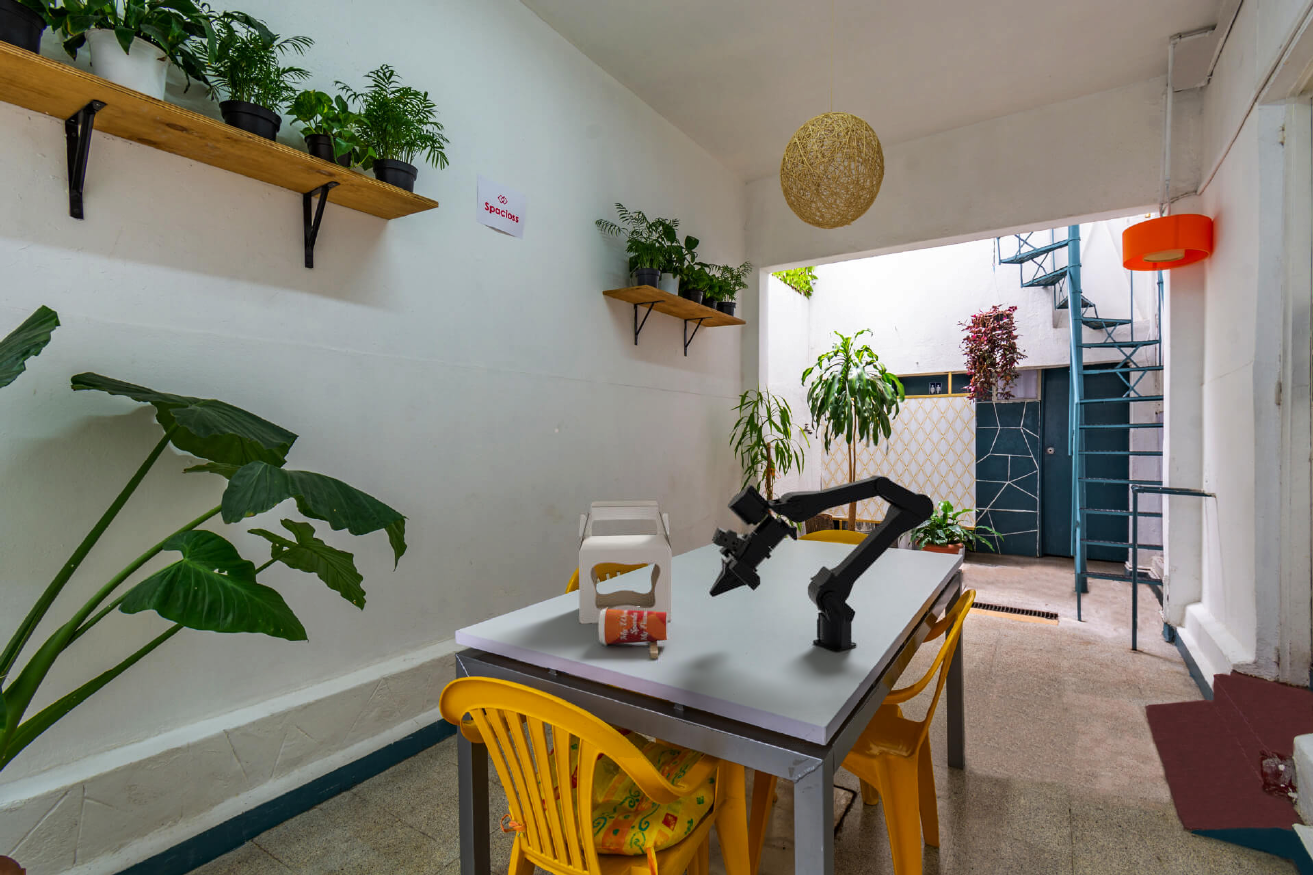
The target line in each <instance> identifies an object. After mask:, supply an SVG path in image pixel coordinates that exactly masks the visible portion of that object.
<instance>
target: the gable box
mask: <svg viewBox="0 0 1313 875" xmlns="http://www.w3.org/2000/svg"><path fill="white" fill-rule="evenodd" d="M668 515H669V514H668V512H663V513H662V514H661V511H659V505H658V502H657V501H656V500H655V499H650V500H648V499H647V500H645V499H644V500H595V501H594V500H593V501H592V502H591V503H590V508H589V512H588V513H587V516H586V514H584V513H583V514H580V520H579V530H578V537H581V538H580V544H579V548H578V587H579V588H578V590H579V591H578V592H579V594H578V599H579V601H578V603H579V606H578V609H579V610H578V611H579V612H578V616H579V619H578V620H579V624H580V623H581V624H580V625H582V624H583V625H587V624H589V623H592V624H599V615H600V612H601V610H603V609H606V608H607V607H608V608H609V609H616V610H636V611H655V612H667V616H668V622H671V621H672V620H673V619H672V618H673V615H672V614H673V612H672V609H673V608H672V603H673V601H672V596H673V594H672V593H673V592H672V588H673V587H672V580H673V579H672V546H671V543H670V540H669V537H668V535H670V526H669V516H668ZM611 520H612V521H613V520H615V521H616V520H619V521H620V520H649V521H651V520H653V521H655V523H656V534H654V533H653V534H652V533H651V534H649V533H647V534H610V535H609V534H608V535H607V534H606V535H605V534H603V535H601V534H600V535H593V527H592V526H593V523H594V522H595V521H596V522H597V521H611ZM606 563H607V564H608V563H612V564H620V565H629V566H631V565H640V564H641V565H642V564H649V563H650V564H654V566H653V569H652V571H651V574H650V582H651V583H650V585H651V586H650V587H651V589H650V591H649V592H646V593H641V592H638V591H634V590H618V591H613V592H609V593H599V592H598V591H597V584H598V576H597V572H596V570H595V566H596V565H600V564H606ZM637 606H640V607H637Z"/></svg>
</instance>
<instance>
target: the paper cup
mask: <svg viewBox="0 0 1313 875" xmlns="http://www.w3.org/2000/svg"><path fill="white" fill-rule="evenodd" d="M668 623H669V621H668V616H667V612H655V611H636V610H616V609H609V608H608V607H607V608H606V609H603V610H601V612H600V615H599V623H598V629H597V630H598V641H599V642H600V643H601V644H603V645H605V646H608V645H615V644H629V643H630V644H632V643H646V642H649V643H650V641H657V642H659V641H661V642H662V641H668V638H669V624H668Z"/></svg>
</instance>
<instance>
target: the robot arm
mask: <svg viewBox="0 0 1313 875" xmlns="http://www.w3.org/2000/svg"><path fill="white" fill-rule="evenodd" d="M874 497H875V498H876V497H879V498H881V499H882V500H883V501H885V502H886V503H888V504H889V505H888V508H887V510H886V513H885V515H884V519H882V521H881V522H879V524H878V525H877V526H876V527H875V528H874V529H873V530H872V531H871V532H870V533H869V534H868V535H866V537H865V538H863V540H862V541H861V542H860V543H859V544H858V545H857V546H855V548H854V549H853V550H852V551H851V552H850V553H849V554H848V555H847V556H846V557H845V558H844V559H843V560H841V562H840V563H839V564H838V565H837V566H835V567H833V568H830V569H829V568H827V567H826V566H825V565H823V566H822V567H821V568H820V569H819V571H818V572H817V574H815V575H814V576H812V577H810V582H809V584H808V586H807V595H808V598H809V599H810V601H811V602H812V603H813V604H814V605H815V606H816V608H817V610H818V611H819V612H818V613H817V619H816V638H817V639H814V640H812V643H813V644H815V645H817V646H820V647H823V648H825V649H828V650H829V651H833V652H835V653H837V652H838V653H839V652H841V651H845V650H848V649H851V648H855V647H857V646H858V644H857V642H854V641H852V635H853V634H852V622H853V621H854V619H855V618H854V617H855V615H856V611H855V610H854V609H853V608H852V607H851V606H850V605H849V604H848V603H847V602H846V601H847V600H848V598H849V597H850V595H851V593H852V590H853V588H854V584H855V583H856V582H857V580H858V579H860V577H861V576H862V575H863V574H864V573H866V571H867V570H868V569H870V568H871V566H872V565H873V564H874V563H875V562H877V560H878V559H879V558H880V557H881V556H882V555H883V554H884V553H885V552H886V551H888V549H890V547H891V546H892V545H893V544H894V543H895V542H896V541H898V539H899V538H900V537H901V536H902V535H903V534H906V533H907V532H909V531H912V530H914V529H917V528H918V527H920V526H921V525H922V524H925V522H928V520H930V519H931V518H932V516H933V515H934V513H935V509H934V506H935V505H934V501H933V500H932V499H931V497H929V496H928V495H926V494H924V493H920V492H915V491H911V490H910V489H909V488H908V489H907V488H906V487H903V486H902V485H901V484H898V483H895V482H894V481H893V480H892V479H890V478H888V477H887V476H884V475H878V474H877V475H876V474H875V475H874V474H873V475H872V476H870V477H867V478H864V479H859V480H855V481H852V482H849V483H848V482H847V483H845V484H844V483H843V484H840V485H835V486H833V487H827V488H825V489H822V490H803V491H789V492H786V493H784V494H782V495H781V496H780V498H773V499H768V500H767V499H766V498H765V497H763V495H761V493H759V491H758V490H757V488H755V487H754V486H753V485H752V484H748V485H747V486H746V487H745V488H743V489H742V490H741V491H740V492H739V493H736V494H735V495H734V496H733V497H732V499H731V500H729V502H728V504H727V508H728V509H729V510H730V511H731V512H732V513H733V514H734V515H735V516H736V517H738V519H739V520H741V522H743V523H744V524H745V525H746V526H751V525H753V526H756V527H754V529H753V530H752V531H751V532H750V533H748V532H747V533H746V532H745V533H744V534H743V535H741V536H739V535H738V533H737V532H736V531H733V530H731V529H730V528H729V529H727V530H726V529H724V528H722V527H720V526H717V527H716V530H715V531H714V534H713V536H712V539H711V541H712V543H713V544H714V545H716V546H717V547H721V548H720V549H719V550H718V551H719V553H720V554H721V555H722V556H724V558H725V559H723V557H720V560H721V561H720V562H721V570H720V572H719V574H718V576H717V578H716V579H715V581H714V583H713V584H712V586H711V588H710V590H709V595H710V596H711V597H712V598H714V597H717V596H718V595H719V596H720V595H722V594H724V593H727V592H730V591H731V590H734V589H737V588H740V587H743V586H748V587H749V588H750V589H751V590H752V591H755V590H756V589H757V588H759V586H760V585H761V577H760V575H759V574H758V573H757V572H758V569H757V568H758V567H759V566H760V564H762V563H763V561H764V560H766V559H767V560H769V559H770V558H771V557H772V555H771V553H773V551H774V550H775V549H776V548H777V546H779V545H780V543H781V542H783V540H784V539H785V538H787V536H788V537H789V538H791V539H792V540H793V541H794V542H795V541H797V540H798V527H797V526H795V525H790V524H789V523H788V522H787V521H786V520H784V518H785V519H788V520H789V521H791V522H792V523H795V524H799V523H804V522H806V521H808V520H811V519H813V518H815V517H817V516H818V515H820V514H821V513H823V512H825V511H827V510H829V509H833V508H837V507H841V506H844V505H847V504H852V503H856V502H860V501H864V500H868V499H871V498H874ZM769 511H771V512H772V513H774V514H776V515H778V516H779V517H777V518H775V517H774V515H773V514H771V513H770V512H769ZM781 516H782V517H781ZM783 517H784V518H783Z"/></svg>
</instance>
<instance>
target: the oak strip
mask: <svg viewBox="0 0 1313 875" xmlns="http://www.w3.org/2000/svg"><path fill="white" fill-rule="evenodd" d="M658 648H659V646H658V641H649V655H650V656H649V658H650V659H651V660H652V659H653V660H655V659H659V651H658V650H659V649H658Z"/></svg>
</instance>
